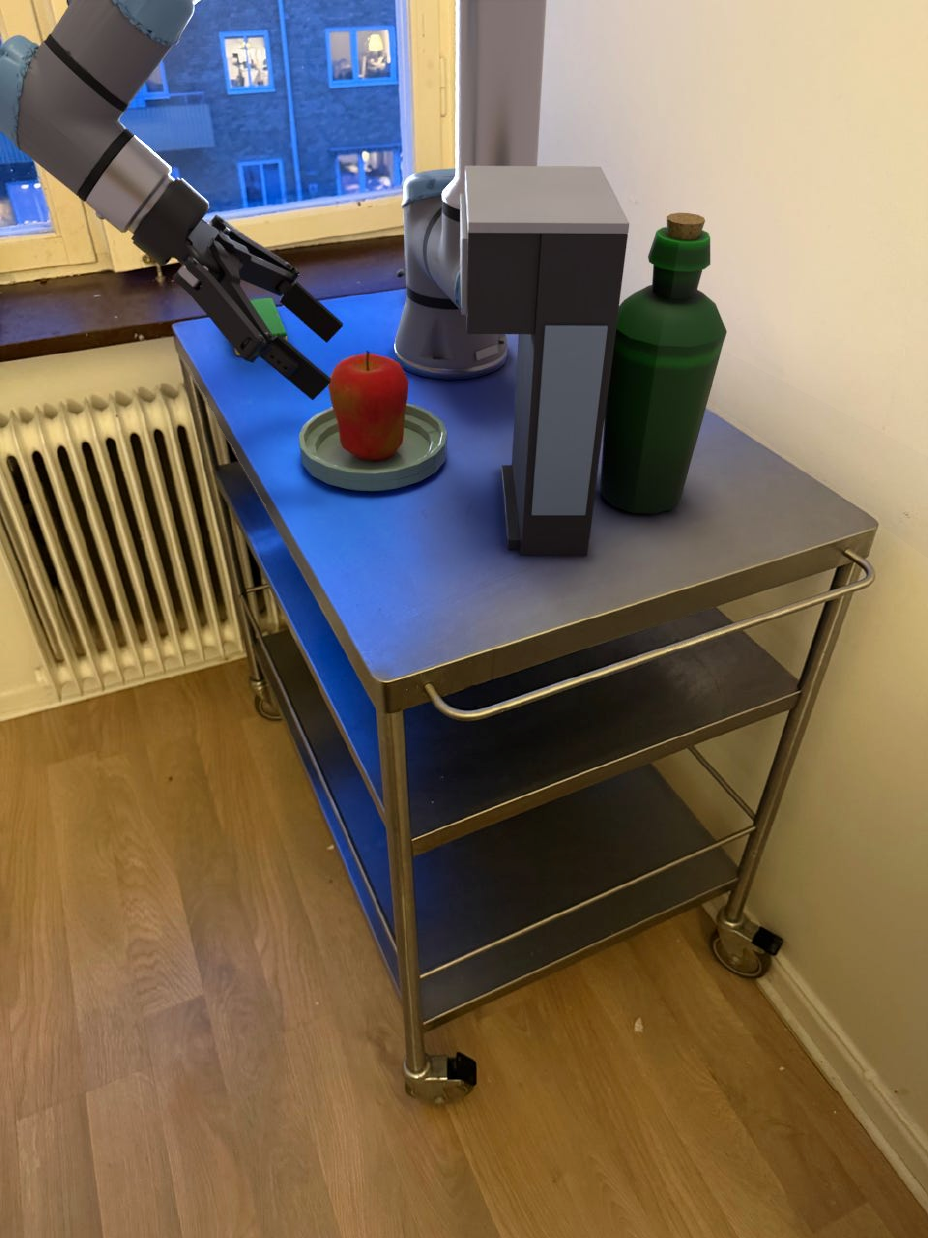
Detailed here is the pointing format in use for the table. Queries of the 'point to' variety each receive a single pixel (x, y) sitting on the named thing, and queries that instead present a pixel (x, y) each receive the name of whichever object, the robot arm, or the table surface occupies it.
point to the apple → (369, 405)
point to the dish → (347, 471)
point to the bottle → (661, 373)
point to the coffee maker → (547, 333)
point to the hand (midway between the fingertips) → (329, 360)
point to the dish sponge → (269, 316)
